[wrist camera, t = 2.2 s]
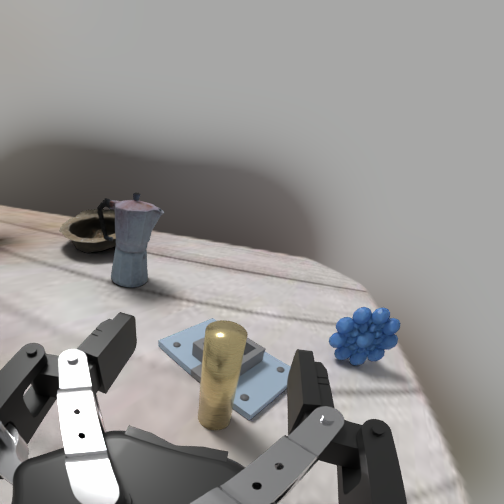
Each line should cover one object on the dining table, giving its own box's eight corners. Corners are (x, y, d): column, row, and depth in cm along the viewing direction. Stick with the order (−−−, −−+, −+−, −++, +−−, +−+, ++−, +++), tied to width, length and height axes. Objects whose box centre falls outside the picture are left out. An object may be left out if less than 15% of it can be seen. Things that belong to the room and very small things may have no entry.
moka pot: (157, 292, 57) (163, 199, 51) (91, 285, 54) (89, 193, 47) (161, 273, 66) (168, 191, 60) (102, 267, 62) (103, 186, 56)
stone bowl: (133, 231, 91) (135, 206, 88) (141, 266, 72) (143, 234, 68) (66, 231, 79) (66, 205, 76) (55, 266, 59) (52, 233, 56)
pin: (191, 415, 30) (196, 329, 25) (214, 401, 33) (225, 316, 28) (214, 435, 28) (227, 351, 23) (236, 419, 31) (255, 334, 26)
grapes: (381, 357, 47) (405, 303, 43) (382, 379, 41) (411, 322, 37) (326, 342, 50) (345, 286, 46) (320, 363, 44) (343, 303, 40)
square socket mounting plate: (158, 346, 41) (158, 327, 40) (211, 323, 51) (213, 306, 49) (248, 420, 31) (253, 403, 30) (298, 377, 40) (304, 360, 39)
